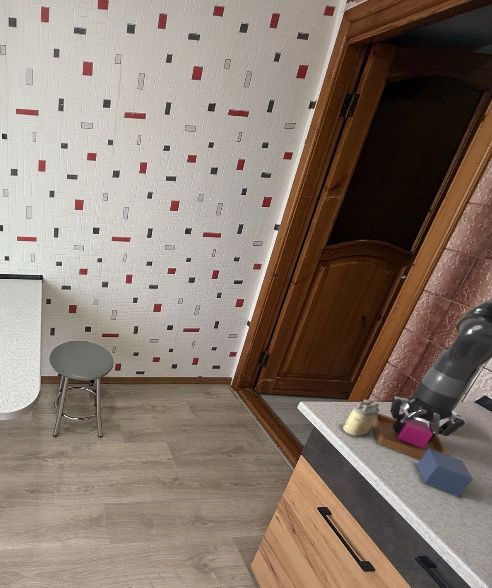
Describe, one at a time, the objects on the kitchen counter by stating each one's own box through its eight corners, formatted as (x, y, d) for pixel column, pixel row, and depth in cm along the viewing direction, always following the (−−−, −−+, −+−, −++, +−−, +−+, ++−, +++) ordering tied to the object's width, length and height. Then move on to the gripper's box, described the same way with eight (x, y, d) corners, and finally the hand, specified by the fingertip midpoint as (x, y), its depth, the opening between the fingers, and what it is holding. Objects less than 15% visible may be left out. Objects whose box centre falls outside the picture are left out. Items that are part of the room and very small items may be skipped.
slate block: (448, 477, 81) (462, 460, 78) (458, 496, 76) (473, 479, 74) (416, 465, 84) (428, 448, 81) (424, 483, 79) (437, 465, 76)
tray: (433, 438, 92) (436, 433, 92) (449, 470, 83) (454, 465, 82) (370, 416, 99) (373, 411, 98) (378, 444, 89) (382, 438, 88)
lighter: (357, 423, 95) (373, 396, 91) (371, 434, 92) (388, 406, 88) (339, 427, 94) (354, 400, 89) (352, 438, 90) (368, 410, 86)
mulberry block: (417, 436, 91) (426, 422, 89) (423, 448, 87) (433, 434, 85) (394, 428, 93) (402, 414, 91) (398, 439, 89) (407, 426, 87)
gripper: (475, 390, 83) (439, 439, 90) (401, 369, 89) (373, 416, 96) (489, 407, 77) (449, 459, 84) (409, 383, 83) (379, 433, 90)
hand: (409, 436), depth 90 cm, fingers closed on mulberry block, 5 cm apart
